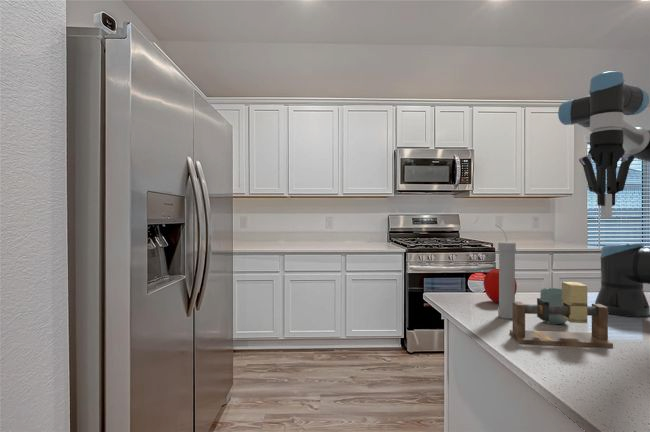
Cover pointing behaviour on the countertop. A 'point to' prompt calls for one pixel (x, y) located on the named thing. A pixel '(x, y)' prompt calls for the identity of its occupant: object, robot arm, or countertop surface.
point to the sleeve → (575, 301)
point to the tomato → (493, 285)
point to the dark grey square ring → (545, 309)
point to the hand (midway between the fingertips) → (606, 217)
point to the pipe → (506, 278)
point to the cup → (553, 303)
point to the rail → (561, 338)
